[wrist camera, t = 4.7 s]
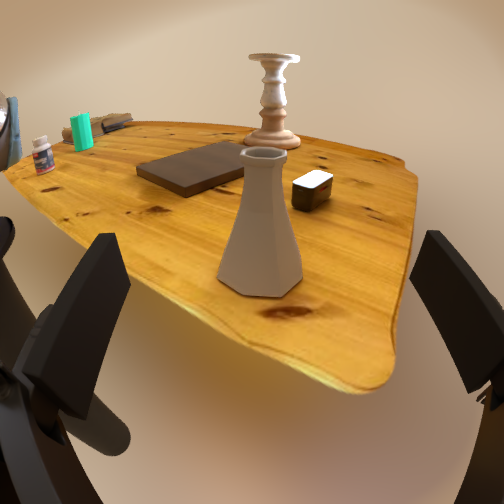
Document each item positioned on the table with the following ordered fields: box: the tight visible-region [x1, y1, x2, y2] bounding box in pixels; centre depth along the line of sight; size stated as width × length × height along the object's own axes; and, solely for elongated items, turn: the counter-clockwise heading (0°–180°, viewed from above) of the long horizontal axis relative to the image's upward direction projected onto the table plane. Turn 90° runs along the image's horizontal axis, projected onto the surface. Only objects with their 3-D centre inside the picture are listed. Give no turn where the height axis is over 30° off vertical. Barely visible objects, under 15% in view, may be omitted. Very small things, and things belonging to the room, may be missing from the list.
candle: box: [70, 113, 94, 152], centre depth 64 cm, size 6×6×12 cm
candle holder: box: [244, 53, 300, 150], centre depth 53 cm, size 12×12×20 cm
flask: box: [217, 146, 303, 297], centre depth 21 cm, size 7×7×10 cm
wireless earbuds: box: [291, 170, 333, 212], centre depth 34 cm, size 5×7×3 cm, turn 142°
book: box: [62, 113, 133, 144], centre depth 85 cm, size 25×17×6 cm, turn 140°
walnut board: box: [136, 141, 250, 198], centre depth 45 cm, size 20×15×2 cm
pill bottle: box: [32, 135, 55, 175], centre depth 50 cm, size 5×5×9 cm
